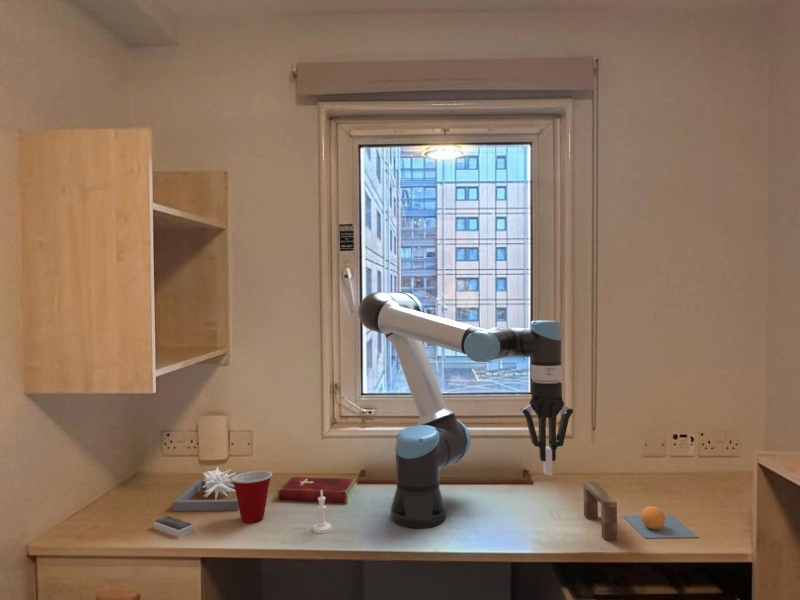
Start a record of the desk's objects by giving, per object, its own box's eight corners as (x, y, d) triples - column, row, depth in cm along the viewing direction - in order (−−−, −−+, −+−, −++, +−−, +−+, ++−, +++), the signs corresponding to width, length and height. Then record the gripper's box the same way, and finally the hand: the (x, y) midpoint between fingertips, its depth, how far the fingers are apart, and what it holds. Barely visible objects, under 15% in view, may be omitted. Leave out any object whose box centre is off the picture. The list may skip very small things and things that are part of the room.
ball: (673, 524, 128) (655, 537, 129) (664, 516, 134) (646, 528, 134) (659, 506, 129) (641, 519, 129) (650, 498, 134) (633, 511, 134)
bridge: (604, 540, 125) (604, 502, 125) (584, 515, 140) (583, 481, 140) (617, 540, 125) (616, 502, 125) (595, 515, 140) (594, 481, 140)
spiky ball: (239, 490, 166) (239, 463, 167) (242, 499, 155) (242, 470, 155) (201, 495, 162) (201, 467, 163) (202, 504, 150) (202, 474, 151)
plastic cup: (270, 508, 148) (269, 466, 148) (275, 523, 138) (275, 477, 138) (230, 514, 144) (229, 471, 144) (232, 530, 134) (232, 483, 134)
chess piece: (313, 534, 131) (313, 494, 131) (311, 526, 136) (310, 488, 136) (333, 531, 132) (332, 492, 132) (330, 523, 137) (329, 486, 137)
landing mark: (645, 538, 126) (645, 537, 126) (622, 516, 139) (622, 515, 139) (698, 537, 126) (698, 536, 126) (671, 515, 139) (671, 514, 139)
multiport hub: (178, 539, 130) (178, 530, 130) (152, 530, 136) (152, 521, 136) (194, 533, 134) (193, 524, 134) (168, 523, 140) (168, 515, 140)
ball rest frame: (172, 511, 147) (172, 502, 147) (198, 487, 166) (198, 479, 166) (238, 510, 147) (238, 501, 147) (256, 486, 166) (256, 478, 166)
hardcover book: (346, 506, 150) (346, 491, 150) (277, 502, 154) (277, 488, 154) (356, 490, 162) (356, 477, 162) (292, 488, 166) (292, 474, 166)
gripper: (524, 383, 129) (525, 478, 129) (576, 382, 129) (578, 478, 129) (517, 379, 137) (519, 469, 137) (567, 378, 137) (568, 468, 137)
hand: (547, 473), depth 133 cm, fingers closed
